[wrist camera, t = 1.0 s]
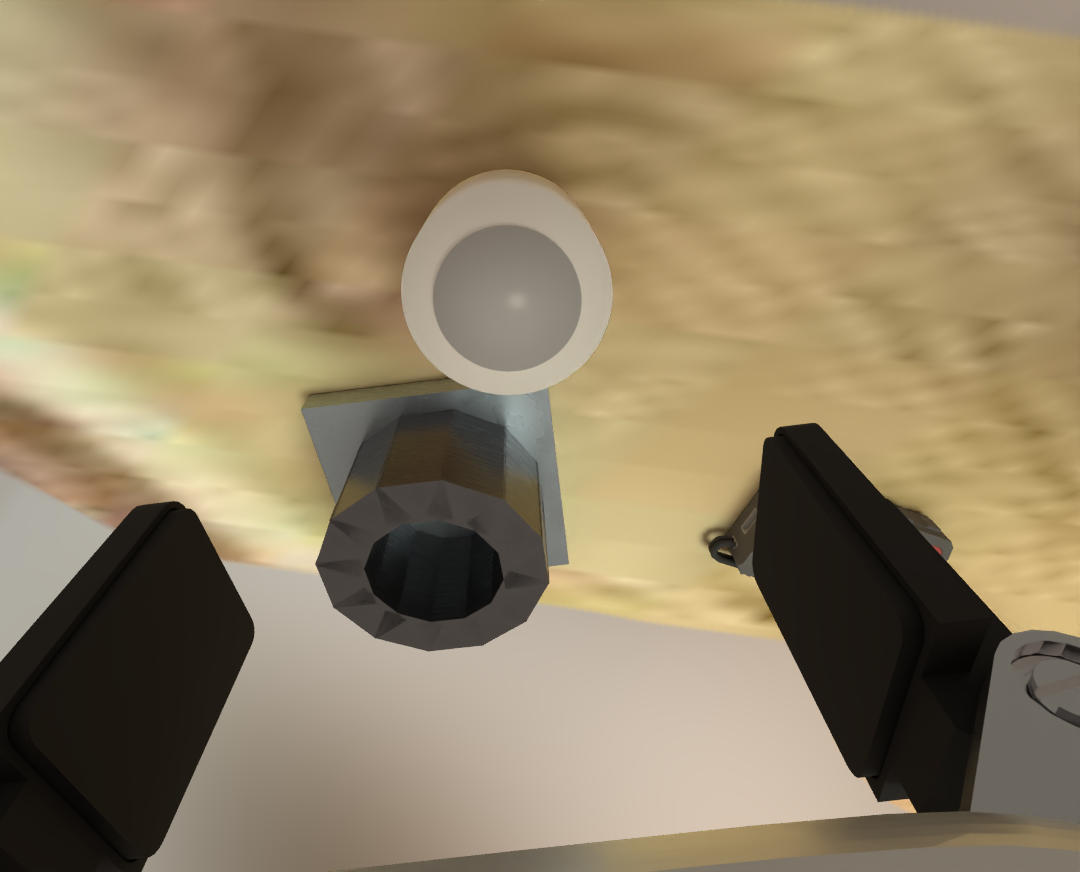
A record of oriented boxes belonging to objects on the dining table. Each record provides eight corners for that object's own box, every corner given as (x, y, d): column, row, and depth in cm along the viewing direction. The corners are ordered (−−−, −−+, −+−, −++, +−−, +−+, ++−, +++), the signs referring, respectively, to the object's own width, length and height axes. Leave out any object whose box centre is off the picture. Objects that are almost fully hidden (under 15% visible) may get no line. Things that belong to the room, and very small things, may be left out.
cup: (582, 149, 25) (608, 175, 18) (593, 314, 28) (618, 386, 22) (411, 171, 25) (375, 205, 18) (445, 332, 29) (425, 409, 22)
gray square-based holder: (545, 366, 30) (554, 445, 23) (566, 546, 36) (578, 648, 30) (310, 395, 30) (255, 481, 24) (371, 568, 36) (341, 674, 30)
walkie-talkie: (683, 560, 37) (928, 634, 42) (702, 614, 34) (969, 688, 38) (760, 450, 33) (1022, 545, 38) (792, 497, 30) (1079, 597, 34)
